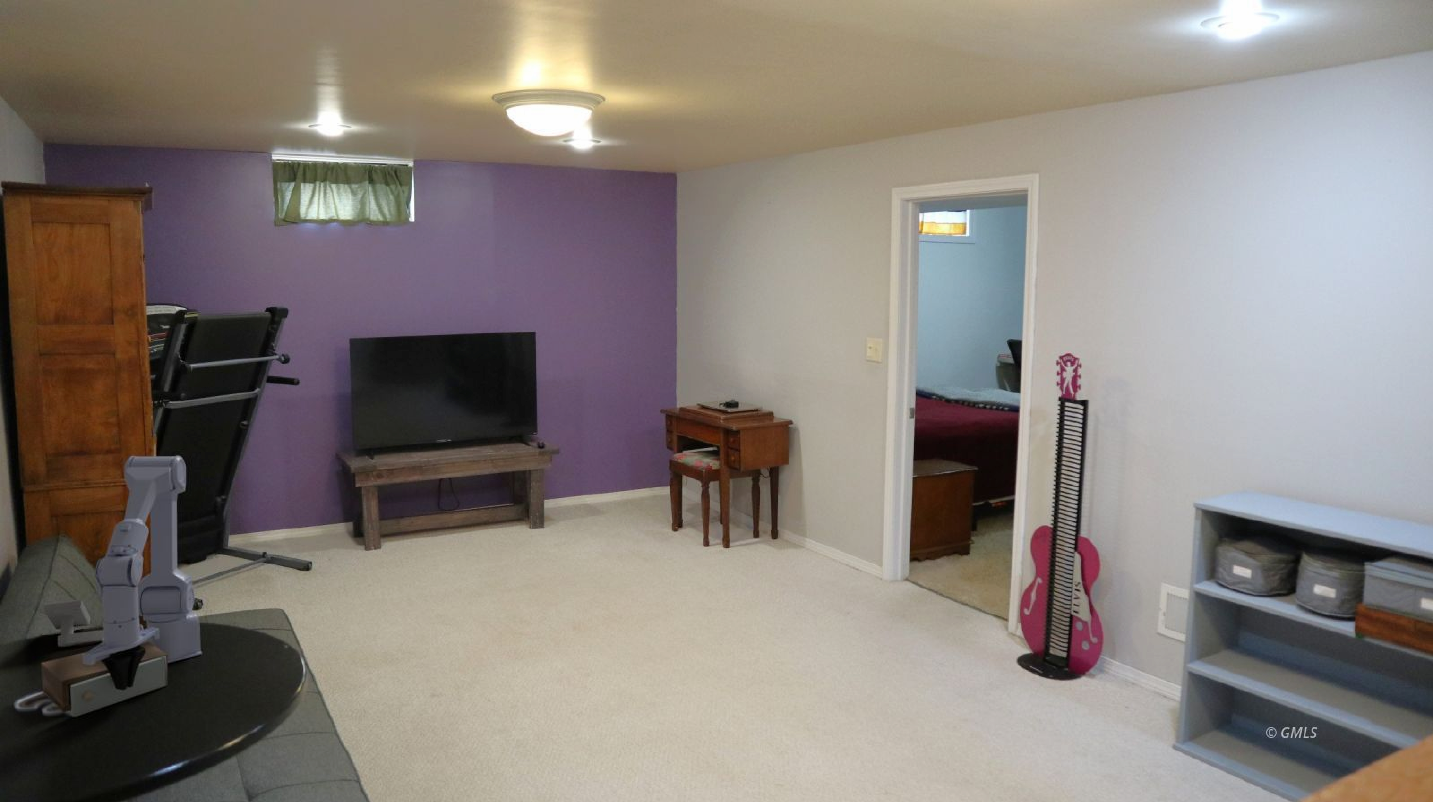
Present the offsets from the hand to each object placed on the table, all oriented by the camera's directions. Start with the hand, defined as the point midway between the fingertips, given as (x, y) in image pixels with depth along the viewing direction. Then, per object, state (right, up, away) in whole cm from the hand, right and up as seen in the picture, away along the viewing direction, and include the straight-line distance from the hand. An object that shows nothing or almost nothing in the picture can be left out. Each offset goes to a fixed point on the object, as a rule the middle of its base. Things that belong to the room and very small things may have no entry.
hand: (124, 687), depth 181 cm
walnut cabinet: (-8, -2, +7) cm, 11 cm away
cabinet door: (-1, -3, +2) cm, 4 cm away
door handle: (-27, +1, +34) cm, 44 cm away
